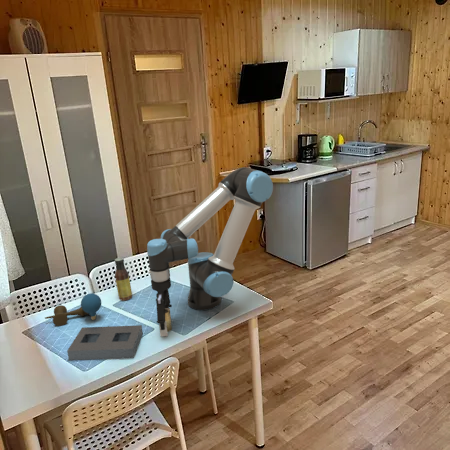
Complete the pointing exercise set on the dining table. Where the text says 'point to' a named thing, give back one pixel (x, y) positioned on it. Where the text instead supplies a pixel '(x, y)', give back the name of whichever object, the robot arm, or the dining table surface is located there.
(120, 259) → the sauce bottle
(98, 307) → the light bulb
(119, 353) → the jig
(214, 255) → the robot arm
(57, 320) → the kendama
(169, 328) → the bushing
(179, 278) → the dining table surface
